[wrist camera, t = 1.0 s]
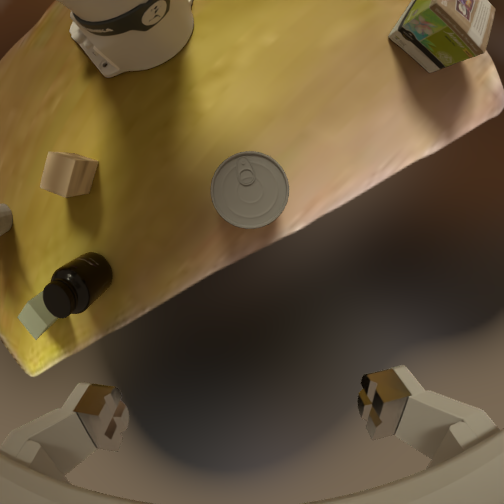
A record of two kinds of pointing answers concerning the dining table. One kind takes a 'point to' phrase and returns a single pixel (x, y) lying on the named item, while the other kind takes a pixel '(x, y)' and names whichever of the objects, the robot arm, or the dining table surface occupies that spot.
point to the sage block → (36, 316)
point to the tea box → (443, 31)
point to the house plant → (5, 218)
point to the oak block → (68, 174)
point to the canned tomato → (249, 190)
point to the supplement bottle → (77, 285)
